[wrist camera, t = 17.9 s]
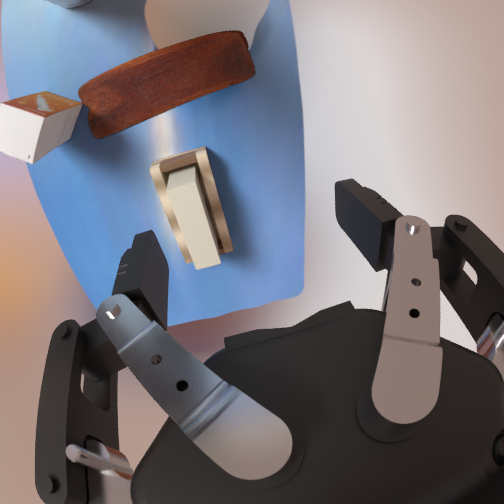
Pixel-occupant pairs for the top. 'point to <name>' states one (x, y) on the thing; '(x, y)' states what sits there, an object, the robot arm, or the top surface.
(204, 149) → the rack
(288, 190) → the top surface
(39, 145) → the small box
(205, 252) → the strip
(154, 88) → the wooden tablet
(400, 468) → the robot arm
